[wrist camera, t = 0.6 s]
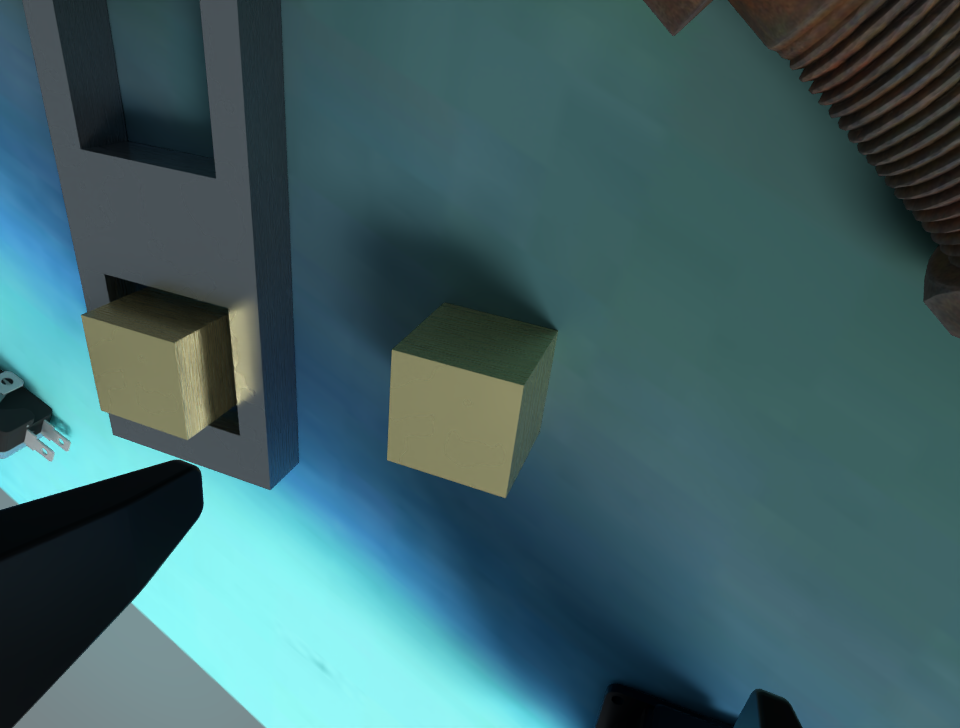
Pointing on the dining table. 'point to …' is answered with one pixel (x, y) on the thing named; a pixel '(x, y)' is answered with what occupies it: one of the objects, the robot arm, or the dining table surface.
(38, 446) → the push button
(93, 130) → the rectangular frame
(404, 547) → the dining table surface
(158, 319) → the tan wooden cube
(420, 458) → the beige wood block
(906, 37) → the bolt
